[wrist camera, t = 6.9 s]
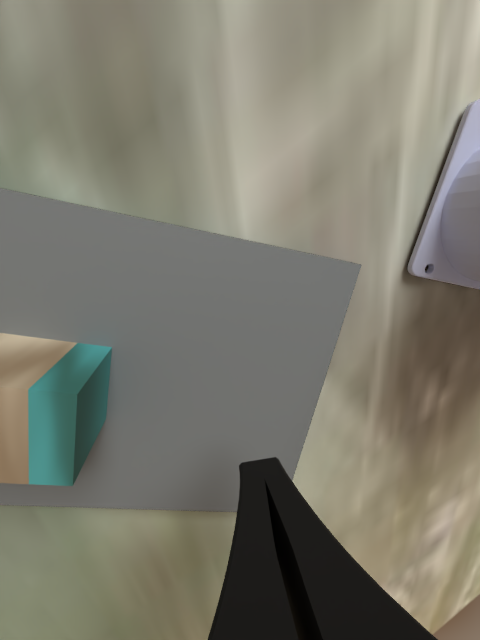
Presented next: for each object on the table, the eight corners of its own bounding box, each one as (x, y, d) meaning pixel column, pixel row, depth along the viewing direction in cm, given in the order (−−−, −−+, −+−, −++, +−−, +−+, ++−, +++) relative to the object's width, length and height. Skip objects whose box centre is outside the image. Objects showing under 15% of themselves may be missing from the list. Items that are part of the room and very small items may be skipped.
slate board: (351, 262, 15) (361, 264, 14) (277, 499, 19) (281, 513, 18) (-178, 150, 11) (-215, 143, 10) (-116, 483, 15) (-137, 500, 14)
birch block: (77, 394, 10) (-180, 369, 8) (72, 486, 11) (-155, 476, 9) (112, 347, 13) (-62, 324, 12) (105, 418, 15) (-54, 405, 13)
